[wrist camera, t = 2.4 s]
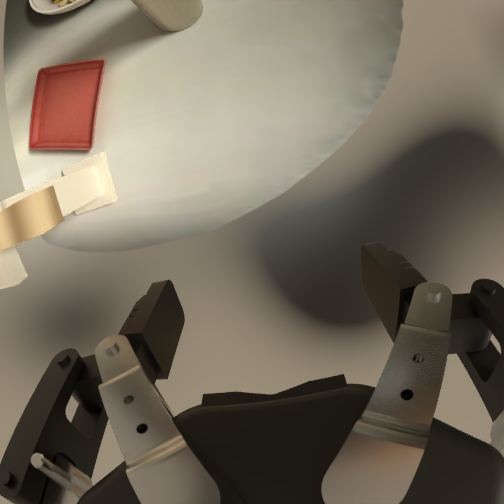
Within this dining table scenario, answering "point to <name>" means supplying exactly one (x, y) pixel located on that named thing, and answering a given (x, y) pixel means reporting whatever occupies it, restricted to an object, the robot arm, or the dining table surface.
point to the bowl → (56, 5)
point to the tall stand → (63, 205)
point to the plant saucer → (66, 106)
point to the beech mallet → (29, 217)
